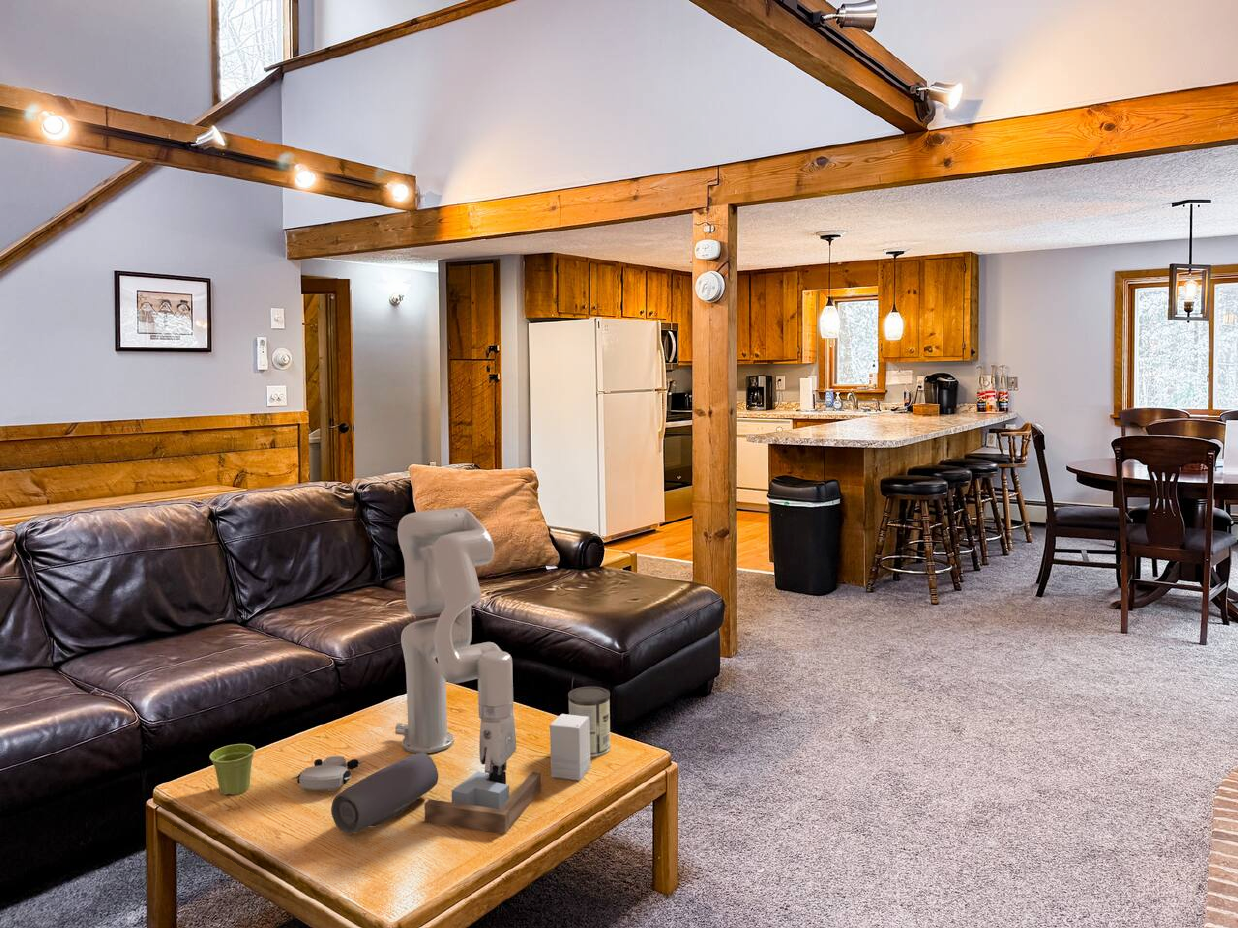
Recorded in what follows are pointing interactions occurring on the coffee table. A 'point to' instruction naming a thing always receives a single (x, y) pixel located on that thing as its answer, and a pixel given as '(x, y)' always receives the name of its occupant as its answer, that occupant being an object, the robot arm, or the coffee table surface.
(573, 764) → the supplement box
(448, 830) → the coffee table surface
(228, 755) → the plant pot
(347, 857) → the coffee table surface
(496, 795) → the tee block
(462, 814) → the walnut fence
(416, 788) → the bluetooth speaker
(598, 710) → the coffee can
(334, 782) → the robot toy
